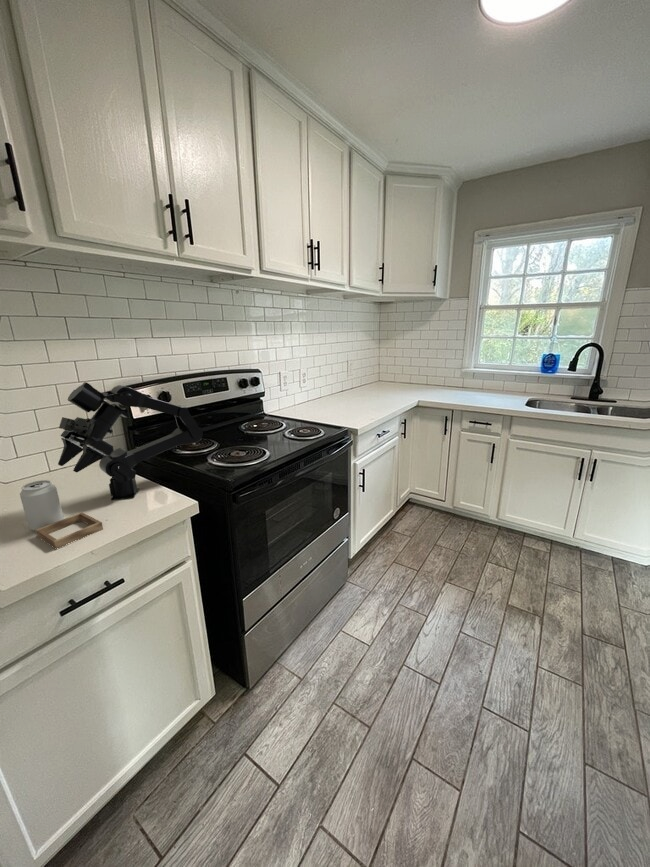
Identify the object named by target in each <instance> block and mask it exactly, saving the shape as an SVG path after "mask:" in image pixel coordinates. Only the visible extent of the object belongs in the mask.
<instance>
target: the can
mask: <svg viewBox="0 0 650 867" xmlns="http://www.w3.org/2000/svg"><path fill="white" fill-rule="evenodd" d="M19 496H20V500H21V504H22V508H23V511H24V515H25V519H26V522H27V526H28V529H30V530H31V531H32V530H33V531H35V532H36V530H37V529H39V528H42V527H44V526H47V525H50V524H52V523H55V522H57V521H60V520H63V519H65V518H64V513H63V510H62V509H63V508H62V506H61V502H60V497H59V494H58V489H57V485H56V484H54V483H53V481H52V480H50V479H42V480H36V481H31V482H29V483H26V484H24V485H22V487H21V492H20V493H19Z"/></svg>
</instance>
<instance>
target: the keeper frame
mask: <svg viewBox="0 0 650 867" xmlns="http://www.w3.org/2000/svg"><path fill="white" fill-rule="evenodd" d="M79 522H83V523H85V524H87V525H88V526H86V527H84V528H81V529H78V530H76V531H73V532H72V533H70V534H66V535H64V536H62V537H60V538H55V537H54V536H52V535H51V534H52V533H55V532H57V531H59V530H62V529H64V528H67V527H69V526H72V525H74V524H77V523H79ZM103 526H104V525H103V522H102V521H100V520H99V519H96V518H94V517H92V516H90V515H88V514H86V513H84V512H79V513H75V514H73V515H71V516H68V517H65V518H64V519H63V520H60V521H57V522H55V523H52V524H50V525H47V526H44V527H42V528H39V529H37V530H36V531H35V534H36V536H37V538H38V539H40V540H41V539H42V541H43V542H44V541H45V542H44V543H45V544H47V543H48V544H47V545H49V544H50V545H51V547H52V546H53V547H54V548H53V547H52V548H53V549H55V548H56V549H57V548H59V547H61V548H63V547H62V546H64V545H66V544H68V543H70V544H72V543H71V542H73V541H75V540H77V541H79V540H81V538H82V539H84V538H86V537H88V536H87V535H89V536H90V534H91V535H93V534H95V533H98V532H99V530H100V531H102V530H104V527H103ZM97 531H98V532H97ZM85 536H86V537H85ZM83 537H84V538H83ZM78 539H79V540H78ZM75 542H76V541H75ZM73 543H74V542H73ZM50 545H49V546H50ZM68 545H69V544H68ZM66 546H67V545H66ZM64 547H65V546H64ZM56 549H55V550H56ZM59 549H60V548H59ZM57 550H58V549H57Z"/></svg>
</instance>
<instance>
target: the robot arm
mask: <svg viewBox="0 0 650 867" xmlns="http://www.w3.org/2000/svg"><path fill="white" fill-rule="evenodd" d="M67 401H68V403H71V404H73V405H75V406H76V407H77V408H80V409H81V410H83V411H84V412H86V413H90V412H94V414H93V416H91V418H89V417H87V418H82V417H80V416H77V417H76V418H74V419H73V418H68V417H61V420H60V424H59V426H58V429H61V430H63V432H62V433H61V434H60V435H59V436H60V437H61V441H62V443H63V448H62V451H61V454H60V457H59V460H58V463H57V465H58V466H61V467H63V466H64V465H66V464H67V463H69V462H70V461H71V460H73V459H74V458H75V457H76V456H78V455H79V454H81V453H82V454H81V455H80V457H79V459H78V461H77V462H76V464H75V465H74V467H73V471H72V472H74V473H79V472H81V471H82V470H84V469H86V468H87V467H89V466H91V465H92V464H94V463H97V462H99V464H98V465H99V468H100V470H101V471H103V473H105V474H106V475H107V476H109V477H111V478H110V479H109V484H108V487H109V492H110V496H111V498H110V500H111V501H114V500H115V501H116V500H124V499H133V498H135V496H137V494H138V492H139V491H140V488H139V487H138V486H137V481H136V476H137V471H136V470H135V469H133V468H134V467H135V466H137V464H138V463H141V462H143V461H146V460H147V459H150V458H152V457H155V456H157V455H159V454H161V453H163V452H165V451H168V450H171V449H172V448H173V449H174V448H176V447H178V446H183V445H191V444H195V443H197V442H200V441H201V440H202V439H203V435H204V432H203V429H202V428H201V426H199V424H198V423H197V421H196V420H195V418H194V417H193V416H192V415H191V413H190V411H189V408H187V407H186V406H184V405H183V406H182V405H177V404H174V403H171V402H168V401H163V400H160V399H157V398H153V397H150V396H148V395H146V394H144V393H142V392H140V391H139V390H136V389H134V388H133V387H130V386H126V385H116V386H114V387H113V388H111V390H107V391H103V392H101V391H100V390H98V389H96V388H94V386H92V384H90V383H88V382H86V381H84V382H83V383H82V384H81V385H79V386H77V387H76V388H75V389H73V390H72V392H71V393H70V394H69V395H68V398H67ZM107 401H109V402H111V403H109V402H107ZM118 405H121V406H124V408H122V407H120V406H118ZM125 407H131V408H132V407H133V408H146V409H149V410H152V411H153V410H154V411H156V412H160V413H163V414H167V415H171V416H174V418H175V421H176V426H177V428H175V429H174V430H173V431H172V432H171V433H170V434H167V435H166V436H163V437H160V438H157V439H155V440H153V441H151V442H148V443H146V444H144V445H141V446H138V447H136V448H133V449H131V450H124V449H122V448H120V447H119V448H116V449H115V450H114V446H113V444H112V445H111V444H110V443H109V442H107V441H105V440H104V439H105V437H106V436H107V434H112V433H113V432H114V431H113V430H112V429H113V427H114V425H115V424H116V422H117V421H118V420H119V419H120V417H122V418H129V417H130V414H129V411H128V410H129V409H128V408H125Z"/></svg>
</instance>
